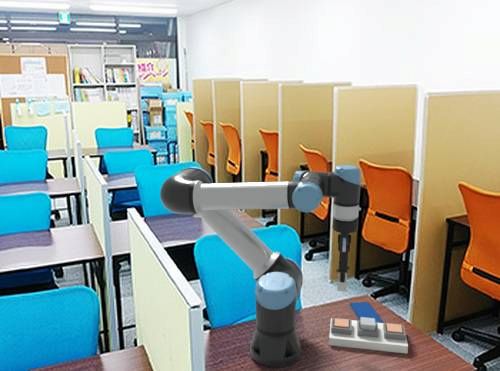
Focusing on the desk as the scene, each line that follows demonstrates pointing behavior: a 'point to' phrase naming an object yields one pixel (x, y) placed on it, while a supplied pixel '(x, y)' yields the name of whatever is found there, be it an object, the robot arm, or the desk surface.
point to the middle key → (367, 324)
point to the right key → (394, 328)
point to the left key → (341, 323)
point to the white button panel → (368, 337)
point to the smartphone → (365, 311)
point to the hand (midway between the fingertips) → (341, 290)
